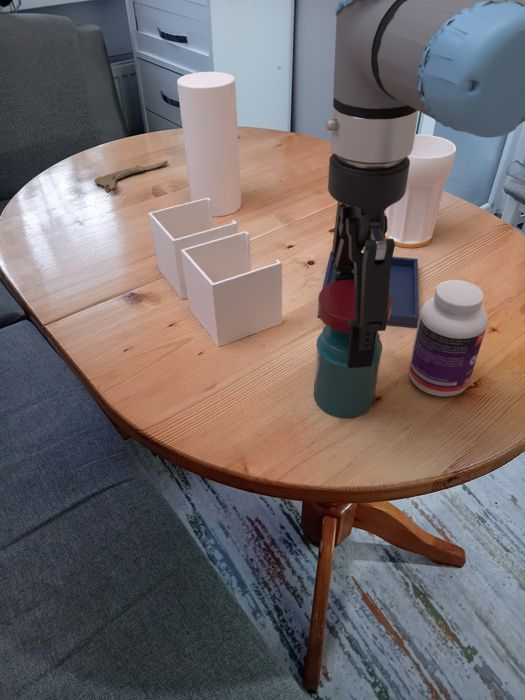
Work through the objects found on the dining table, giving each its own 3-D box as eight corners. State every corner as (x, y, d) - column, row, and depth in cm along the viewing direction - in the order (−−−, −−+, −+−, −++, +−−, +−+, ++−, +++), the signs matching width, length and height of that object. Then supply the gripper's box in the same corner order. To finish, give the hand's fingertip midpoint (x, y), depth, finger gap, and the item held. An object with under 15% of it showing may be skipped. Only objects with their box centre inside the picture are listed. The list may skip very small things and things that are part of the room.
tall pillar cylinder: (242, 194, 119) (236, 70, 103) (239, 216, 111) (232, 86, 95) (195, 194, 120) (181, 71, 103) (188, 217, 112) (172, 87, 95)
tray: (416, 328, 82) (418, 317, 81) (317, 317, 85) (318, 307, 83) (415, 268, 95) (417, 258, 93) (329, 260, 97) (330, 251, 96)
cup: (400, 216, 110) (414, 129, 98) (449, 236, 103) (469, 145, 92) (365, 236, 104) (375, 145, 92) (413, 257, 97) (431, 163, 86)
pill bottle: (471, 403, 70) (501, 315, 61) (408, 397, 71) (428, 309, 62) (464, 362, 76) (490, 276, 67) (406, 357, 77) (423, 271, 68)
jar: (372, 422, 68) (382, 359, 61) (309, 413, 69) (312, 351, 62) (375, 379, 74) (385, 317, 67) (317, 371, 75) (321, 311, 68)
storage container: (158, 269, 97) (148, 212, 89) (213, 252, 100) (208, 197, 93) (218, 346, 80) (212, 285, 73) (281, 323, 84) (281, 262, 77)
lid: (403, 325, 60) (406, 311, 59) (336, 341, 58) (337, 328, 57) (368, 286, 66) (370, 273, 65) (306, 300, 64) (307, 287, 63)
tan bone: (84, 191, 124) (81, 182, 122) (142, 161, 137) (140, 153, 136) (113, 195, 119) (110, 186, 118) (170, 165, 133) (168, 156, 132)
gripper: (311, 120, 58) (306, 294, 73) (356, 206, 42) (337, 406, 57) (379, 116, 59) (360, 289, 73) (449, 199, 43) (407, 399, 57)
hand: (350, 340), depth 65 cm, fingers closed on lid, 8 cm apart
